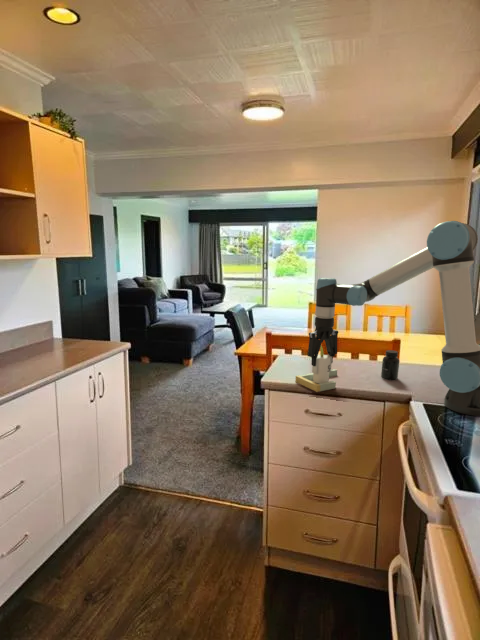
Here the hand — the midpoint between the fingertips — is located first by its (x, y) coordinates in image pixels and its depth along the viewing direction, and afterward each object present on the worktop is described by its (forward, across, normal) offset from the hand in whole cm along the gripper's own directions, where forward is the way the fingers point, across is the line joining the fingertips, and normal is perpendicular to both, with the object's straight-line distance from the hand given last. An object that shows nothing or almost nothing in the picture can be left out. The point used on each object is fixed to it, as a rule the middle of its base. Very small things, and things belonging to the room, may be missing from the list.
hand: (321, 372), depth 166 cm
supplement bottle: (+5, -32, +8) cm, 33 cm away
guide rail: (+5, -4, 0) cm, 6 cm away
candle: (+4, 0, 0) cm, 4 cm away
